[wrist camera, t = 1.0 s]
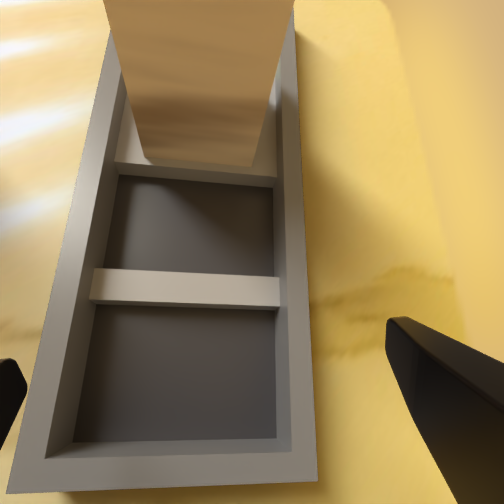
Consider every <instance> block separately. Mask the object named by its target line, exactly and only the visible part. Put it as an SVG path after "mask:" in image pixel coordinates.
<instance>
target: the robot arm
mask: <svg viewBox="0 0 504 504" xmlns="http://www.w3.org/2000/svg"><path fill="white" fill-rule="evenodd" d="M385 350H386V355H387V358H388V360H389V363H390V365H391V368H392V370H393V373H394V375H395V378H396V380H397V382H398V385H399V387H400V390H401V392H402V395H403V397H404V400H405V402H406V405H407V407H408V409H409V412H410V414H411V416H412V418H413V420H414V422H415V424H416V426H417V428H418V430H419V432H420V434H421V436H422V438H423V440H424V441H425V443H426V445H427V447H428V449H429V451H430V453H431V455H432V456H433V458H434V460H435V462H436V464H437V466H438V468H439V469H440V471H441V473H442V475H443V477H444V479H445V481H446V483H447V484H448V486H449V488H450V490H451V492H452V494H453V496H454V498H455V499H456V501H457V503H458V504H504V363H502V362H500V361H498V360H496V359H494V358H491V357H490V356H487V355H485V354H483V353H481V352H479V351H477V350H475V349H473V348H471V347H469V346H467V345H465V344H463V343H460V342H458V341H456V340H454V339H452V338H450V337H448V336H446V335H444V334H442V333H440V332H438V331H436V330H433V329H431V328H429V327H427V326H425V325H423V324H421V323H419V322H417V321H415V320H413V319H411V318H408V317H405V316H403V317H393V318H389V319H388V320H387V323H386V340H385ZM26 394H27V383H26V381H25V378H24V376H23V374H22V372H21V370H20V368H19V366H18V364H17V362H16V361H15V360H14V359H11V358H7V359H0V450H1V448H2V446H3V443H4V441H5V439H6V437H7V435H8V433H9V431H10V428H11V426H12V424H13V422H14V420H15V418H16V415H17V413H18V411H19V409H20V407H21V405H22V403H23V400H24V398H25V396H26Z"/></svg>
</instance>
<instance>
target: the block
mask: <svg viewBox="0 0 504 504" xmlns="http://www.w3.org/2000/svg"><path fill="white" fill-rule="evenodd" d="M294 1H295V0H103V2H104V5H105V9H106V13H107V17H108V21H109V25H110V28H111V32H112V36H113V40H114V44H115V48H116V51H117V55H118V59H119V63H120V67H121V71H122V74H123V78H124V82H125V86H126V90H127V94H128V97H129V101H130V105H131V109H132V113H133V117H134V120H135V124H136V128H137V132H138V136H139V140H140V143H141V147H142V151H143V155H144V157H152V158H163V159H173V160H183V161H193V162H204V163H214V164H224V165H234V166H245V167H252V164H253V160H254V156H255V152H256V148H257V144H258V140H259V136H260V133H261V129H262V125H263V121H264V117H265V113H266V109H267V105H268V102H269V98H270V94H271V90H272V86H273V82H274V78H275V74H276V70H277V67H278V63H279V59H280V55H281V51H282V47H283V43H284V39H285V36H286V32H287V28H288V24H289V20H290V16H291V12H292V8H293V4H294Z"/></svg>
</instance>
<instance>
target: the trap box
mask: <svg viewBox="0 0 504 504" xmlns="http://www.w3.org/2000/svg"><path fill="white" fill-rule="evenodd" d="M314 481H318V470H317V451H316V432H315V413H314V393H313V374H312V355H311V336H310V317H309V297H308V278H307V259H306V240H305V221H304V201H303V182H302V163H301V144H300V125H299V106H298V86H297V67H296V48H295V29H294V10H293V8H292V12H291V16H290V20H289V24H288V28H287V32H286V36H285V39H284V43H283V47H282V51H281V55H280V59H279V63H278V67H277V70H276V74H275V78H274V82H273V86H272V90H271V94H270V98H269V102H268V105H267V109H266V113H265V117H264V121H263V125H262V129H261V133H260V136H259V140H258V144H257V148H256V152H255V156H254V160H253V164H252V167H245V166H234V165H224V164H214V163H204V162H193V161H183V160H173V159H163V158H152V157H144V155H143V151H142V147H141V143H140V140H139V136H138V132H137V128H136V124H135V120H134V117H133V113H132V109H131V105H130V101H129V97H128V94H127V90H126V86H125V82H124V78H123V74H122V71H121V67H120V63H119V59H118V55H117V51H116V48H115V44H114V40H113V36H112V32H111V30H110V34H109V38H108V43H107V47H106V52H105V56H104V61H103V65H102V69H101V74H100V78H99V83H98V87H97V92H96V96H95V100H94V105H93V109H92V114H91V118H90V123H89V127H88V131H87V136H86V140H85V145H84V149H83V154H82V158H81V162H80V167H79V171H78V176H77V180H76V185H75V189H74V194H73V198H72V202H71V207H70V211H69V216H68V220H67V225H66V229H65V233H64V238H63V242H62V247H61V251H60V256H59V260H58V264H57V269H56V273H55V278H54V282H53V287H52V291H51V295H50V300H49V304H48V309H47V313H46V318H45V322H44V326H43V331H42V335H41V340H40V344H39V349H38V353H37V357H36V362H35V366H34V371H33V375H32V380H31V384H30V389H29V393H28V397H27V402H26V406H25V411H24V415H23V420H22V424H21V428H20V433H19V437H18V442H17V446H16V451H15V455H14V459H13V464H12V468H11V473H10V477H9V482H8V486H7V490H6V494H18V493H43V492H68V491H92V490H117V489H142V488H166V487H191V486H215V485H240V484H265V483H289V482H314Z"/></svg>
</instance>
